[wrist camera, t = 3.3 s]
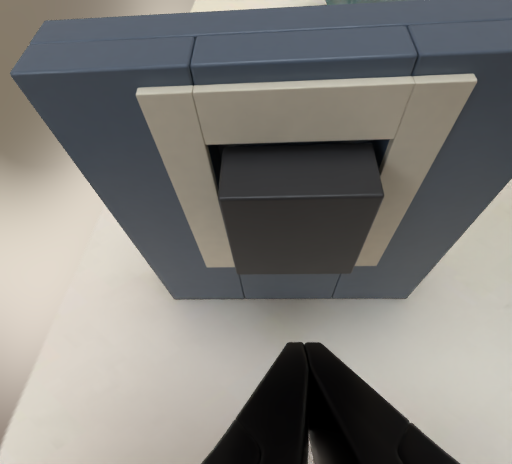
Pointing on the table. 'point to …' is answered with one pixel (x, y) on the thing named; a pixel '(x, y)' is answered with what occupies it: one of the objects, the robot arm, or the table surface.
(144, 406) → the table surface
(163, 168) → the wall panel
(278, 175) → the switch button
